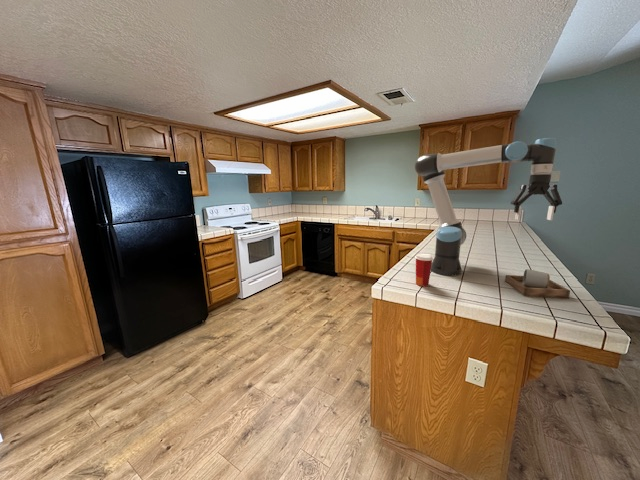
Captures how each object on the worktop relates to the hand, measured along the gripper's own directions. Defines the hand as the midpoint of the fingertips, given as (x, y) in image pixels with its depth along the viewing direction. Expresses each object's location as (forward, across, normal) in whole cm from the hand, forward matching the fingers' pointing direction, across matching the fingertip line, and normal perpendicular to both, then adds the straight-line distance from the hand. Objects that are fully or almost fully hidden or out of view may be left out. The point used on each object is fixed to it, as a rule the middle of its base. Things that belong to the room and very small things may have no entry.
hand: (533, 219), depth 123 cm
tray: (+29, -5, -18) cm, 34 cm away
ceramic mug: (+28, -5, -16) cm, 32 cm away
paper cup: (+29, -52, -18) cm, 62 cm away
